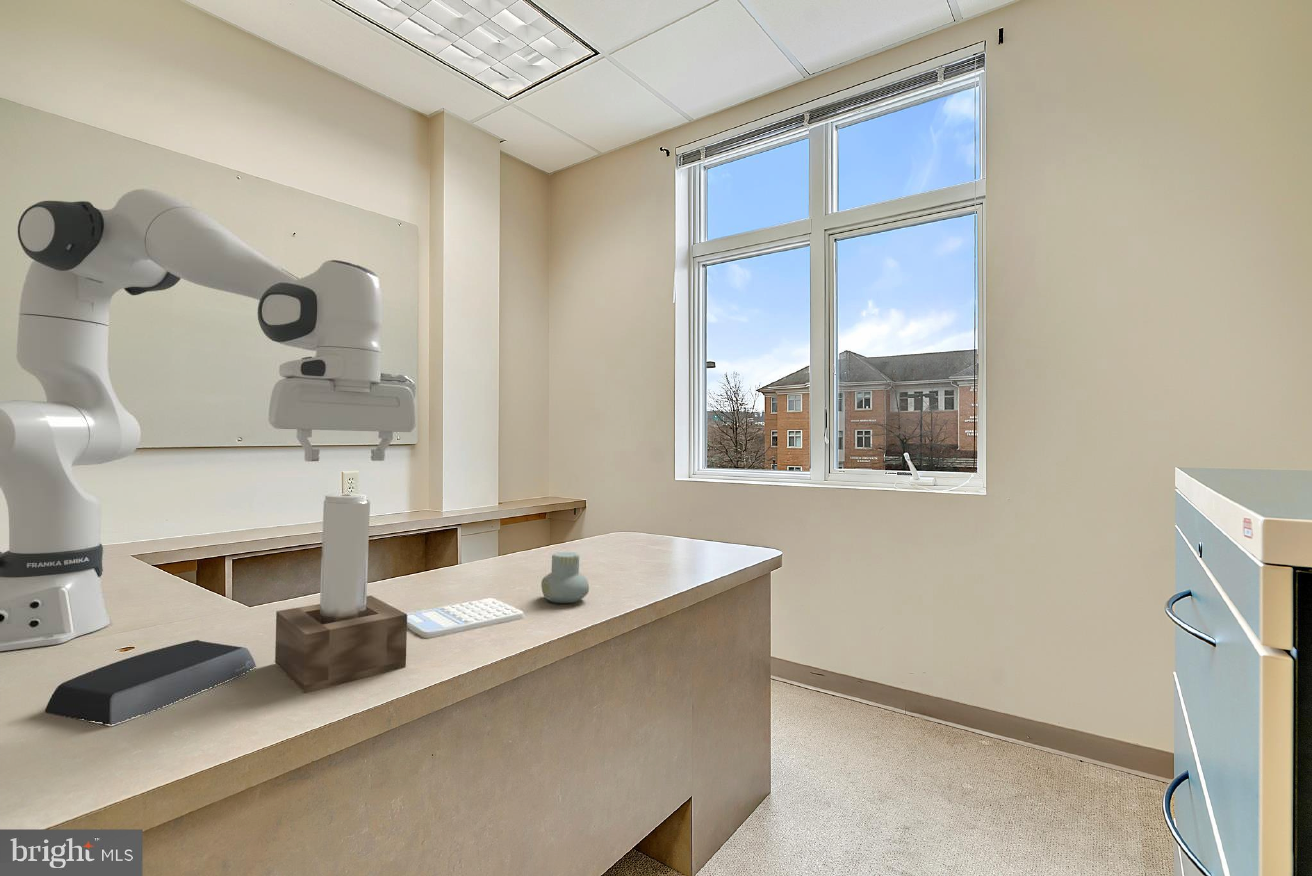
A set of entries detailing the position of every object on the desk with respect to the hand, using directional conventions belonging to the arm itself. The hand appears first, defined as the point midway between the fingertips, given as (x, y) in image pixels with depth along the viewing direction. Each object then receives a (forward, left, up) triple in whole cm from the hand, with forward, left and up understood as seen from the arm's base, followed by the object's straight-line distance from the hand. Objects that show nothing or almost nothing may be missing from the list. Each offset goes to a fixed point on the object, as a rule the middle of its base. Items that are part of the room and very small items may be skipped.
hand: (345, 461), depth 93 cm
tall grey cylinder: (0, 0, -30) cm, 30 cm away
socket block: (0, 0, -31) cm, 31 cm away
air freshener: (+48, +7, -32) cm, 58 cm away
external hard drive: (-21, +7, -32) cm, 39 cm away
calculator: (+25, +9, -32) cm, 42 cm away
